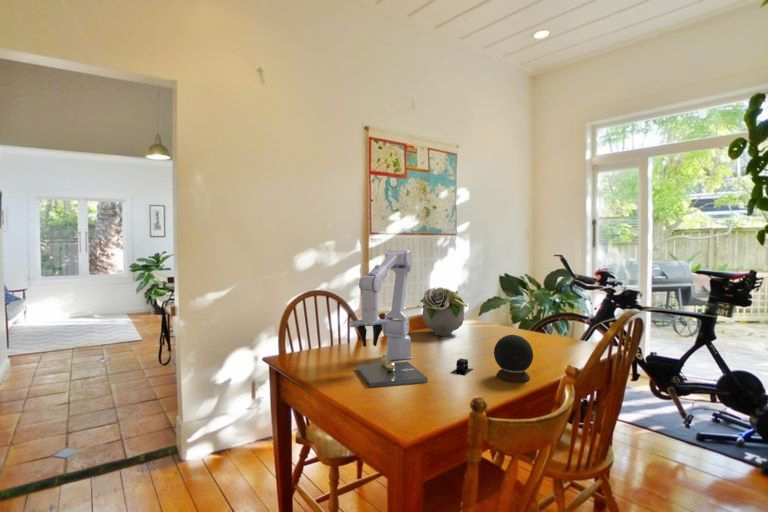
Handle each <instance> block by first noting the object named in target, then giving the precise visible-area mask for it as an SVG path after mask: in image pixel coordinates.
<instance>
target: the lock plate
mask: <svg viewBox="0 0 768 512" xmlns="http://www.w3.org/2000/svg"><path fill="white" fill-rule="evenodd" d="M394 363H395V371H392V372H390V371H386V368H385V367H384V366H383V365H382V364H381V363H372V364H359V365H356V370H357V372H358V373H359V374H360V376H361V377H362V379H363V380H364V382H365V383H366V384H367V385H368V387H369V388H379V387H391V386H400V385H401V386H402V385H412V384H423V383H428V382H429V381H428V377H427V376H426V375H424V374H423V373H422V372H421V371H420V370H419V369H417V368H416V366H414V365H412V363H410V362H408V361H397V362H395V361H394Z"/></svg>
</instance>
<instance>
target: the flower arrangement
mask: <svg viewBox="0 0 768 512" xmlns="http://www.w3.org/2000/svg"><path fill="white" fill-rule="evenodd" d="M458 294H459V291H458V290H455V291H453V290H451V289H449V288H446V287H437V288H436V287H434V288H433V287H432V288H430V289H427V290H425V292H424V296H423V297H422V299H421V300H420V303H422V304H423V305H422V320H423V323H424V325H425V326H426V327H427V328H429V330H431V331H432V332H433V334H435V335H436V336H441V337H445V336H452V334H453V332H455V331H457V330H458V329H459V328H460V327H461V326H463V323H464V320H465V311H464V309H465V308H464V307H469V306H468V305H467V304H466V302H465V301H464V300H463V299H462V297H460V296H459V295H458Z"/></svg>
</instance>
